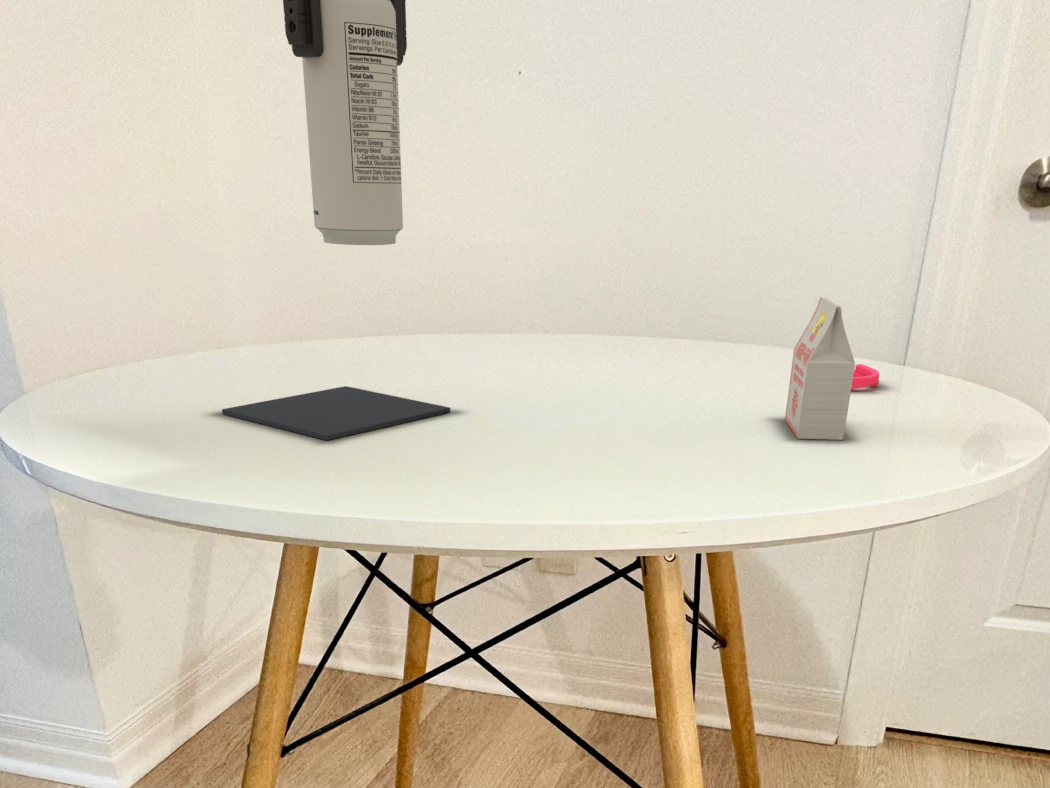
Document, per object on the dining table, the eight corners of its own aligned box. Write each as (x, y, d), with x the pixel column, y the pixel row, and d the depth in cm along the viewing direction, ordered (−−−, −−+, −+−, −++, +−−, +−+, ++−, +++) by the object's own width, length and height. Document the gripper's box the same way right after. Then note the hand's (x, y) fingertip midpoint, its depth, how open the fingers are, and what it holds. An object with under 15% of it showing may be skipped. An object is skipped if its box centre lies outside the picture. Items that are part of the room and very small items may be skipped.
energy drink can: (362, 238, 73) (349, -14, 66) (421, 243, 70) (414, -21, 63) (297, 241, 69) (275, -28, 62) (356, 247, 66) (341, -36, 59)
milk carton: (827, 421, 87) (845, 297, 82) (843, 439, 81) (864, 307, 77) (784, 419, 88) (800, 296, 83) (797, 438, 82) (815, 306, 77)
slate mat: (326, 440, 79) (326, 435, 79) (222, 413, 87) (221, 409, 87) (450, 412, 89) (450, 407, 88) (346, 390, 96) (345, 386, 96)
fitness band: (888, 390, 100) (891, 374, 99) (833, 391, 99) (836, 375, 98) (852, 375, 106) (854, 360, 106) (800, 376, 106) (802, 361, 105)
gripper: (381, -244, 63) (393, 72, 71) (178, -323, 54) (218, 53, 62) (467, -270, 59) (469, 69, 67) (262, -360, 49) (294, 48, 57)
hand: (349, 60), depth 64 cm, fingers closed on energy drink can, 6 cm apart
